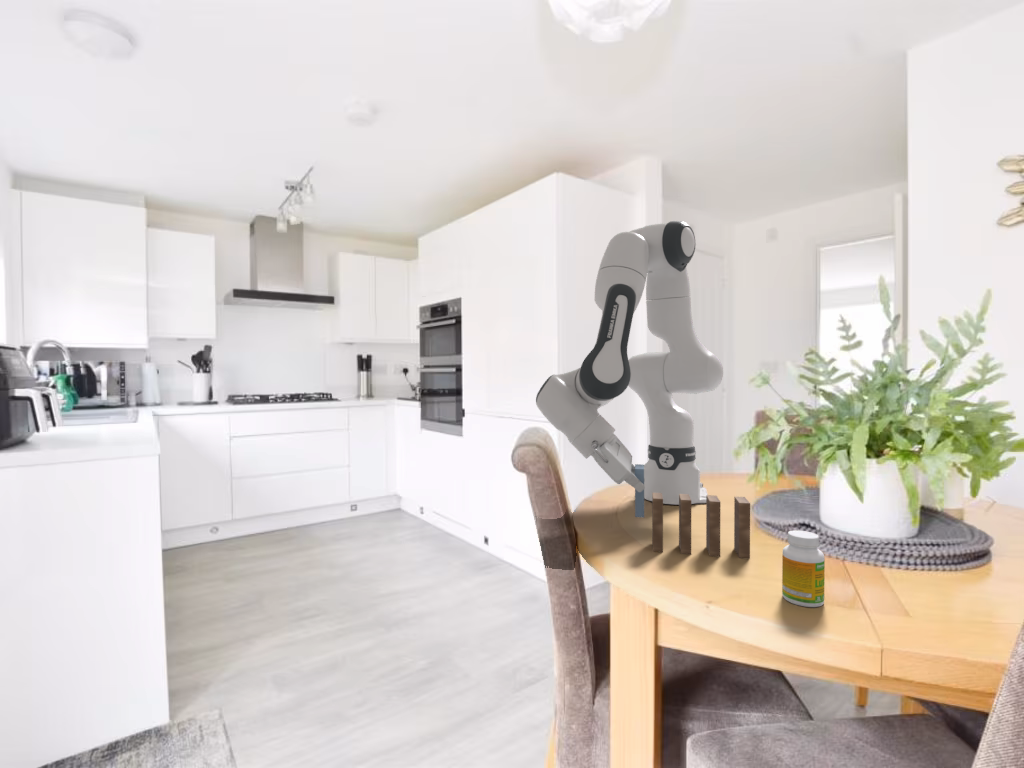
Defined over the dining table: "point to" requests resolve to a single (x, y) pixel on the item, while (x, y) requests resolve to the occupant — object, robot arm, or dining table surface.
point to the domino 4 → (713, 525)
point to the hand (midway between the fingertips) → (642, 486)
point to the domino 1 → (639, 495)
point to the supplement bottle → (803, 570)
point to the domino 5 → (742, 527)
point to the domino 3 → (685, 523)
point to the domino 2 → (657, 522)
